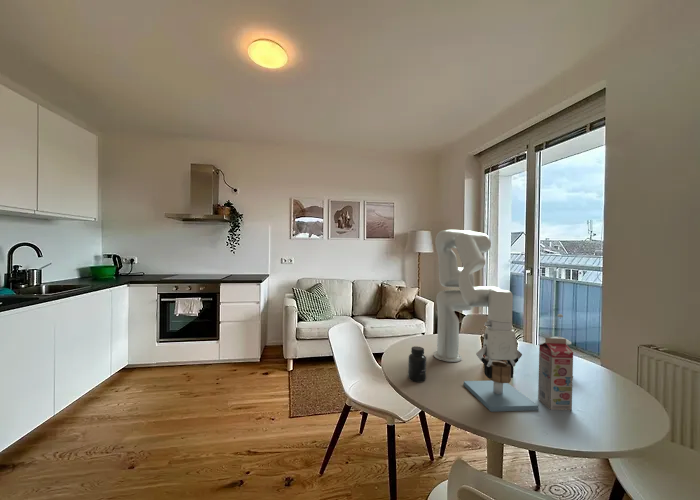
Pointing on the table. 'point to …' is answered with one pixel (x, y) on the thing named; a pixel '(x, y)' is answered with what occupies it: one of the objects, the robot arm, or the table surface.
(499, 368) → the walnut ring
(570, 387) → the juice carton
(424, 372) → the supplement bottle
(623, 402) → the table surface
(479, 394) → the post board
